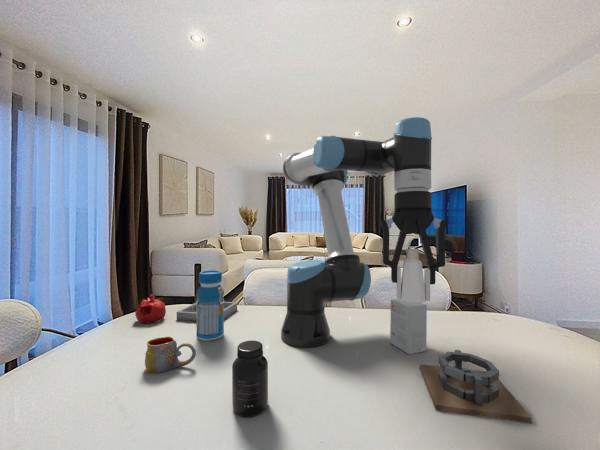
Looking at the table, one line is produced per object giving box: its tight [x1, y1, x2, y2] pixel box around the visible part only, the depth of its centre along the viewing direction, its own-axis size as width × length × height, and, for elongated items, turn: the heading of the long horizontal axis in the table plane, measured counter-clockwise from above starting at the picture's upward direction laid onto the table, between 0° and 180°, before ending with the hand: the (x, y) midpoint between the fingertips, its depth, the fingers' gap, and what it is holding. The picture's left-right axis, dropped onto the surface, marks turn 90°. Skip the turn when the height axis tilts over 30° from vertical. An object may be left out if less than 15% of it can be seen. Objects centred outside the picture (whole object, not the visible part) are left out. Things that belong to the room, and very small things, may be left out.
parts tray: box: [176, 301, 238, 323], centre depth 109 cm, size 16×16×3 cm
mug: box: [144, 336, 197, 374], centre depth 70 cm, size 12×7×7 cm, turn 87°
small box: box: [389, 298, 428, 355], centre depth 82 cm, size 8×6×13 cm
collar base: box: [419, 363, 533, 424], centre depth 61 cm, size 16×16×1 cm
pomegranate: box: [135, 294, 167, 324], centre depth 103 cm, size 10×10×9 cm
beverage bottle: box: [195, 269, 226, 342], centre depth 89 cm, size 8×8×20 cm
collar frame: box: [438, 349, 500, 406], centre depth 61 cm, size 10×13×5 cm
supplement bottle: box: [231, 340, 269, 418], centre depth 55 cm, size 7×7×12 cm
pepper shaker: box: [401, 248, 427, 303], centre depth 62 cm, size 5×5×11 cm
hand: (412, 298), depth 62 cm, fingers closed on pepper shaker, 5 cm apart
